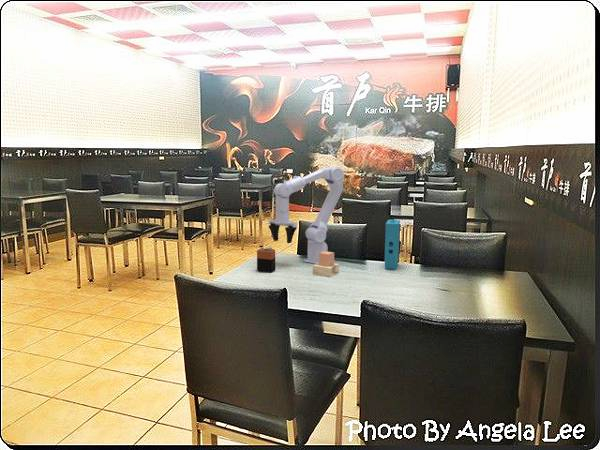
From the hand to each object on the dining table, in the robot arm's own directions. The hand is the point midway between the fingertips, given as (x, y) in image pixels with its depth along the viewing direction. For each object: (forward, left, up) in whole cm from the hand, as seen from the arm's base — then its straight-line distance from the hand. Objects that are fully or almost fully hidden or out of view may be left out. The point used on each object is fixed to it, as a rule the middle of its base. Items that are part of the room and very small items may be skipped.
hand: (282, 241), depth 195 cm
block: (-26, +40, -11) cm, 49 cm away
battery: (+12, +1, -11) cm, 16 cm away
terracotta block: (0, +23, -7) cm, 24 cm away
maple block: (0, +23, -11) cm, 25 cm away
